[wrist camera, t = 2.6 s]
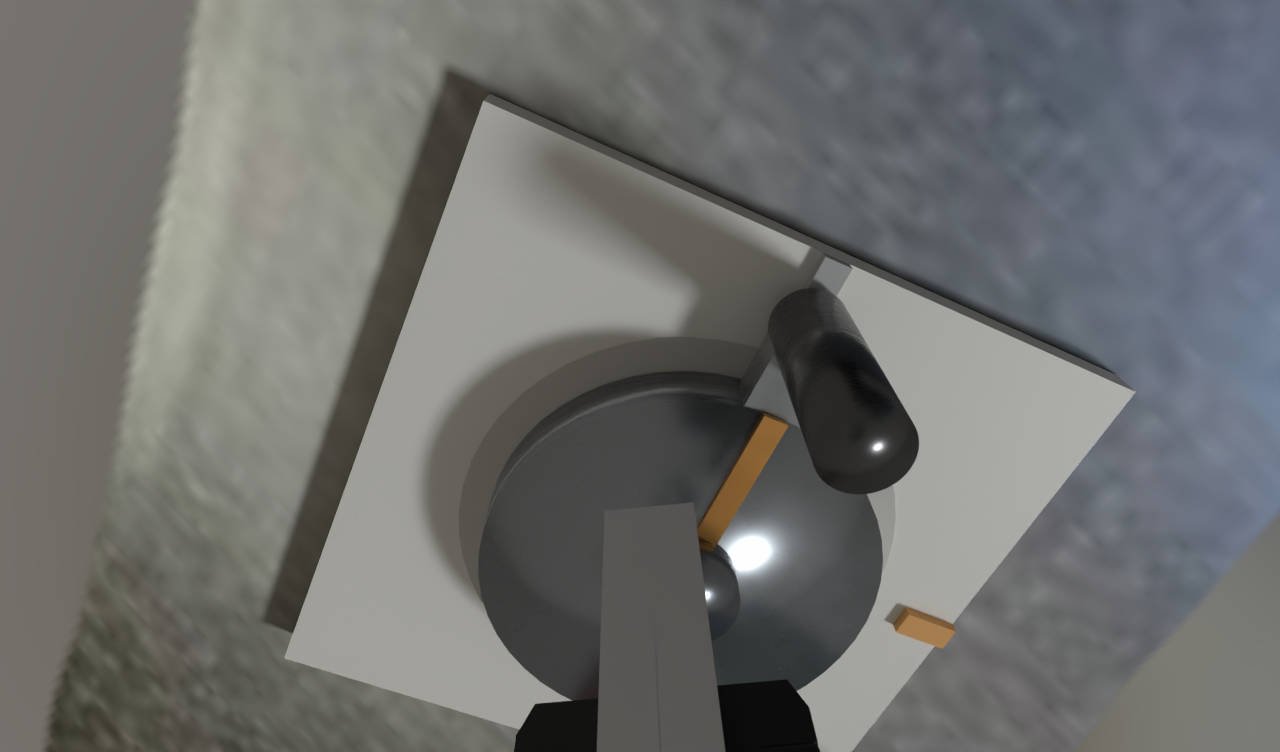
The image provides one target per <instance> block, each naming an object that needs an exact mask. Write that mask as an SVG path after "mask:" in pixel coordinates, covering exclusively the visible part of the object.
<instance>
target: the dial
mask: <svg viewBox="0 0 1280 752" xmlns="http://www.w3.org/2000/svg"><path fill="white" fill-rule="evenodd" d="M918 450H919V437H918V432H917V429H916V427H915V425H914V424H913V422H912V420H911V418H910V417H909V415H908V413H907V411H906V410H905V408H904V406H903V405H902V403H901V401H900V400H899V398H898V396H897V394H896V393H895V391H894V389H893V388H892V386H891V384H890V382H889V381H888V379H887V377H886V376H885V374H884V372H883V370H882V369H881V367H880V365H879V364H878V362H877V360H876V358H875V357H874V355H873V353H872V352H871V350H870V348H869V347H868V345H867V343H866V341H865V340H864V338H863V336H862V335H861V333H860V331H859V329H858V328H857V326H856V324H855V323H854V321H853V319H852V317H851V316H850V314H849V312H848V311H847V309H846V307H845V305H844V304H843V302H842V301H841V300H840V299H839V298H838V297H837V296H835V295H834V294H833V293H831V292H829V291H826V290H823V289H819V288H806V289H801V290H797V291H795V292H792V293H790V294H789V295H787V296H786V297H784V298H783V299H782V300H781V301H780V302H779V303H778V304H777V305H776V306H775V308H774V309H773V311H772V313H771V315H770V318H769V322H768V333H767V335H766V337H765V338H764V340H763V342H762V344H761V345H760V347H759V349H758V351H757V353H756V354H755V356H754V358H753V360H752V362H751V363H750V365H749V367H748V369H747V370H746V372H745V374H744V376H743V378H742V379H741V378H737V377H732V376H727V375H722V374H717V373H707V372H695V371H672V372H657V373H650V374H644V375H637V376H632V377H628V378H625V379H621V380H618V381H614V382H610V383H607V384H605V385H602V386H600V387H597V388H595V389H593V390H590V391H588V392H585V393H583V394H581V395H579V396H578V397H576V398H574V399H572V400H571V401H569V402H567V403H565V404H563V405H562V406H560V407H559V408H557V409H556V410H555V411H553V412H552V413H551V414H549V415H548V416H547V417H545V418H544V419H543V420H542V421H540V422H539V423H538V424H537V425H536V426H535V427H534V428H533V429H532V430H531V431H530V432H529V433H528V434H527V435H526V436H525V437H524V438H523V439H522V441H521V442H520V443H519V445H518V446H517V447H516V449H515V450H514V451H513V453H512V454H511V455H510V457H509V458H508V460H507V462H506V464H505V466H504V468H503V469H502V471H501V473H500V475H499V477H498V480H497V483H496V485H495V488H494V491H493V494H492V497H491V501H490V505H489V509H488V513H487V517H486V521H485V525H484V529H483V533H482V539H481V544H480V549H479V559H478V577H479V584H480V591H481V597H482V600H483V603H484V606H485V609H486V612H487V616H488V618H489V620H490V622H491V624H492V626H493V628H494V630H495V632H496V634H497V636H498V637H499V638H500V640H501V641H502V643H503V644H504V646H505V647H506V648H507V650H508V651H509V653H510V654H511V655H512V656H513V657H514V658H515V659H516V660H517V661H518V662H519V663H520V664H521V665H522V667H523V668H524V669H526V670H527V671H528V672H529V673H530V674H532V675H533V676H534V677H535V678H536V679H538V680H539V681H540V682H541V683H543V684H545V685H546V686H548V687H549V688H551V689H552V690H554V691H555V692H557V693H558V694H560V695H562V696H564V697H566V698H568V699H570V700H584V699H595V698H598V696H599V665H600V634H601V603H602V572H603V541H604V511H607V510H617V509H628V508H638V507H649V506H660V505H670V504H681V503H691V502H694V509H695V517H696V525H697V532H698V540H699V548H700V556H701V564H702V572H703V579H704V587H705V595H706V603H707V611H708V619H709V627H710V634H711V642H712V650H713V658H714V666H715V674H716V682H717V685H728V684H740V683H751V682H762V681H774V680H785V679H787V680H788V681H789V682H790V684H791V685H792V686H793V687H794V689H795V690H796V691H798V690H799V689H801V688H803V687H805V686H806V685H808V684H809V683H810V682H812V681H813V680H814V679H816V678H817V677H819V676H820V675H821V674H823V673H824V672H825V671H826V670H827V669H828V668H829V667H831V666H832V665H833V664H834V663H835V662H836V661H837V660H838V659H839V658H840V657H841V656H842V655H843V654H844V653H845V651H846V650H847V649H848V648H849V647H850V645H851V644H852V643H853V642H854V641H855V639H856V638H857V636H858V634H859V633H860V631H861V630H862V628H863V627H864V625H865V623H866V622H867V620H868V617H869V615H870V613H871V611H872V608H873V606H874V604H875V601H876V598H877V594H878V590H879V587H880V583H881V575H882V567H883V551H882V538H881V534H880V529H879V525H878V520H877V517H876V515H875V513H874V510H873V508H872V505H871V503H870V500H869V498H868V496H867V494H870V493H874V492H878V491H881V490H884V489H886V488H888V487H890V486H892V485H893V484H895V483H897V482H898V481H899V480H900V479H902V478H903V477H904V476H905V475H906V474H907V473H908V471H909V470H910V469H911V467H912V466H913V464H914V462H915V460H916V457H917V454H918Z"/></svg>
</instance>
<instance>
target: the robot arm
mask: <svg viewBox="0 0 1280 752" xmlns="http://www.w3.org/2000/svg"><path fill="white" fill-rule="evenodd" d="M514 752H820V749H819V748H818V741H817V737H816V733H815V729H814V725H813V721H812V716H811V712H810V708H809V706H808V705H807V704H806V703H805V701H804V700H803V699H802V698H801V696H800V695H799V694H798V692H797V691H796V690H795V689H794V687H793V686H792V685H791V684H790V682H789V681H788V680H787V679H785V680H774V681H762V682H751V683H740V684H728V685H717V682H716V674H715V666H714V658H713V650H712V642H711V634H710V627H709V619H708V611H707V603H706V595H705V587H704V579H703V572H702V564H701V556H700V548H699V540H698V532H697V525H696V517H695V509H694V502H691V503H681V504H670V505H660V506H649V507H638V508H628V509H617V510H607V511H604V541H603V572H602V603H601V634H600V665H599V696H598V698H595V699H584V700H572V701H561V702H550V703H538V704H535V705H534V706H533V708H532V710H531V712H530V713H529V715H528V717H527V718H526V720H525V722H524V723H523V725H522V727H521V728H520V730H519V732H518V733H517V735H516V742H515V749H514Z"/></svg>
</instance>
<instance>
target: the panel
mask: <svg viewBox="0 0 1280 752" xmlns="http://www.w3.org/2000/svg"><path fill="white" fill-rule="evenodd" d="M806 288H819V289H823V290H826V291H829V292H831V293H833V294H834V295H835V296H837V297H838V298H839V299H840V300H841V301H842V302H843V304H844V305H845V307H846V309H847V311H848V312H849V314H850V316H851V317H852V319H853V321H854V323H855V324H856V326H857V328H858V329H859V331H860V333H861V335H862V336H863V338H864V340H865V341H866V343H867V345H868V347H869V348H870V350H871V352H872V353H873V355H874V357H875V358H876V360H877V362H878V364H879V365H880V367H881V369H882V370H883V372H884V374H885V376H886V377H887V379H888V381H889V382H890V384H891V386H892V388H893V389H894V391H895V393H896V394H897V396H898V398H899V400H900V401H901V403H902V405H903V406H904V408H905V410H906V411H907V413H908V415H909V417H910V418H911V420H912V422H913V424H914V425H915V427H916V429H917V432H918V437H919V450H918V454H917V457H916V460H915V462H914V464H913V466H912V467H911V469H910V470H909V471H908V473H907V474H906V475H905V476H904V477H903V478H902V479H900V480H899V481H898V482H897V483H895V484H893V485H892V486H890V487H888V488H886V489H884V490H881V491H878V492H874V493H870V494H867V496H868V498H869V500H870V503H871V505H872V508H873V510H874V513H875V515H876V517H877V520H878V525H879V529H880V534H881V538H882V551H883V567H882V575H881V583H880V587H879V590H878V594H877V598H876V601H875V604H874V606H873V608H872V611H871V613H870V615H869V617H868V620H867V622H866V623H865V625H864V627H863V628H862V630H861V631H860V633H859V634H858V636H857V638H856V639H855V641H854V642H853V643H852V644H851V645H850V647H849V648H848V649H847V650H846V651H845V653H844V654H843V655H842V656H841V657H840V658H839V659H838V660H837V661H836V662H835V663H834V664H833V665H832V666H831V667H829V668H828V669H827V670H826V671H825V672H824V673H823V674H821V675H820V676H819V677H817V678H816V679H814V680H813V681H812V682H810V683H809V684H808V685H806V686H805V687H803V688H801V689H799V690H798V691H797V692H798V694H799V695H800V696H801V698H802V699H803V700H804V701H805V703H806V704H807V705H808V706H809V708H810V712H811V716H812V721H813V725H814V729H815V733H816V737H817V741H818V748H819V749H820V752H852V750H853V749H854V748H855V746H856V745H857V744H858V743H859V741H860V740H861V739H862V738H863V736H864V735H865V734H866V733H867V731H868V730H869V729H870V728H871V726H872V725H873V724H874V722H875V721H876V720H877V719H878V717H879V716H880V715H881V714H882V712H883V711H884V710H885V709H886V707H887V706H888V705H889V703H890V702H891V701H892V700H893V698H894V697H895V696H896V695H897V693H898V692H899V691H900V690H901V688H902V687H903V686H904V684H905V683H906V682H907V681H908V679H909V678H910V677H911V676H912V674H913V673H914V672H915V671H916V669H917V668H918V667H919V666H920V664H921V663H922V662H923V660H924V659H925V658H926V657H927V655H928V654H929V653H930V652H931V650H932V649H933V648H934V647H935V646H936V647H939V648H942V649H943V647H944V646H945V645H946V644H947V642H948V641H949V640H950V639H951V637H952V636H953V635H954V634H955V632H956V631H955V629H954V627H953V622H954V621H955V620H956V619H957V617H958V616H959V615H960V614H961V612H962V611H963V610H964V609H965V607H966V606H967V605H968V604H969V602H970V601H971V600H972V598H973V597H974V596H975V595H976V593H977V592H978V591H979V590H980V588H981V587H982V586H983V585H984V583H985V582H986V581H987V579H988V578H989V577H990V576H991V574H992V573H993V572H994V571H995V569H996V568H997V567H998V566H999V564H1000V563H1001V562H1002V560H1003V559H1004V558H1005V557H1006V555H1007V554H1008V553H1009V552H1010V550H1011V549H1012V548H1013V547H1014V545H1015V544H1016V543H1017V542H1018V540H1019V539H1020V538H1021V536H1022V535H1023V534H1024V533H1025V531H1026V530H1027V529H1028V528H1029V526H1030V525H1031V524H1032V523H1033V521H1034V520H1035V519H1036V517H1037V516H1038V515H1039V514H1040V512H1041V511H1042V510H1043V509H1044V507H1045V506H1046V505H1047V504H1048V502H1049V501H1050V500H1051V498H1052V497H1053V496H1054V495H1055V493H1056V492H1057V491H1058V490H1059V488H1060V487H1061V486H1062V485H1063V483H1064V482H1065V481H1066V480H1067V478H1068V477H1069V476H1070V474H1071V473H1072V472H1073V471H1074V469H1075V468H1076V467H1077V466H1078V464H1079V463H1080V462H1081V461H1082V459H1083V458H1084V457H1085V455H1086V454H1087V453H1088V452H1089V450H1090V449H1091V448H1092V447H1093V445H1094V444H1095V443H1096V442H1097V440H1098V439H1099V438H1100V436H1101V435H1102V434H1103V433H1104V431H1105V430H1106V429H1107V428H1108V426H1109V425H1110V424H1111V423H1112V421H1113V420H1114V419H1115V418H1116V416H1117V415H1118V414H1119V412H1120V411H1121V410H1122V409H1123V407H1124V406H1125V405H1126V404H1127V402H1128V401H1129V400H1130V399H1131V397H1132V396H1133V395H1134V393H1135V391H1134V390H1133V389H1132V388H1131V387H1130V386H1128V385H1127V384H1126V383H1125V382H1124V381H1123V380H1122V379H1121V378H1120V377H1118V376H1117V375H1115V374H1113V373H1111V372H1109V371H1107V370H1104V369H1102V368H1100V367H1098V366H1095V365H1093V364H1091V363H1089V362H1086V361H1084V360H1082V359H1080V358H1078V357H1075V356H1073V355H1071V354H1069V353H1066V352H1064V351H1062V350H1060V349H1058V348H1055V347H1053V346H1051V345H1049V344H1046V343H1044V342H1042V341H1040V340H1037V339H1035V338H1033V337H1031V336H1029V335H1026V334H1024V333H1022V332H1020V331H1017V330H1015V329H1013V328H1011V327H1009V326H1006V325H1004V324H1002V323H1000V322H997V321H995V320H993V319H991V318H989V317H986V316H984V315H982V314H980V313H977V312H975V311H973V310H971V309H968V308H966V307H964V306H962V305H960V304H957V303H955V302H953V301H951V300H948V299H946V298H944V297H942V296H940V295H937V294H935V293H933V292H931V291H928V290H926V289H924V288H922V287H919V286H917V285H915V284H913V283H911V282H908V281H906V280H904V279H902V278H899V277H897V276H895V275H893V274H891V273H888V272H886V271H884V270H882V269H879V268H877V267H875V266H873V265H870V264H868V263H866V262H864V261H862V260H859V259H857V258H855V257H853V256H850V255H848V254H846V253H844V252H842V251H839V250H837V249H835V248H833V247H830V246H828V245H826V244H824V243H821V242H819V241H817V240H815V239H813V238H810V237H808V236H806V235H804V234H801V233H799V232H797V231H795V230H793V229H790V228H788V227H786V226H784V225H781V224H779V223H777V222H775V221H773V220H770V219H768V218H766V217H764V216H761V215H759V214H757V213H755V212H752V211H750V210H748V209H746V208H744V207H741V206H739V205H737V204H735V203H732V202H730V201H728V200H726V199H724V198H721V197H719V196H717V195H715V194H712V193H710V192H708V191H706V190H703V189H701V188H699V187H697V186H695V185H692V184H690V183H688V182H686V181H683V180H681V179H679V178H677V177H675V176H672V175H670V174H668V173H666V172H663V171H661V170H659V169H657V168H654V167H652V166H650V165H648V164H646V163H643V162H641V161H639V160H637V159H634V158H632V157H630V156H628V155H626V154H623V153H621V152H619V151H617V150H614V149H612V148H610V147H608V146H605V145H603V144H601V143H599V142H597V141H594V140H592V139H590V138H588V137H585V136H583V135H581V134H579V133H577V132H574V131H572V130H570V129H568V128H565V127H563V126H561V125H559V124H557V123H554V122H552V121H550V120H548V119H545V118H543V117H541V116H539V115H536V114H534V113H532V112H530V111H528V110H525V109H523V108H521V107H519V106H516V105H514V104H512V103H510V102H508V101H505V100H503V99H501V98H499V97H496V96H494V95H492V94H489V95H488V96H487V97H486V98H485V99H484V101H483V103H482V106H481V109H480V112H479V114H478V117H477V120H476V123H475V126H474V128H473V131H472V134H471V137H470V140H469V142H468V145H467V148H466V151H465V154H464V156H463V159H462V162H461V165H460V168H459V170H458V173H457V176H456V179H455V182H454V184H453V187H452V190H451V193H450V196H449V198H448V201H447V204H446V207H445V210H444V212H443V215H442V218H441V221H440V224H439V226H438V229H437V232H436V235H435V238H434V240H433V243H432V246H431V249H430V252H429V254H428V257H427V260H426V263H425V266H424V268H423V271H422V274H421V277H420V280H419V282H418V285H417V288H416V291H415V294H414V296H413V299H412V302H411V305H410V308H409V310H408V313H407V316H406V319H405V322H404V324H403V327H402V330H401V333H400V336H399V338H398V341H397V344H396V347H395V350H394V352H393V355H392V358H391V361H390V364H389V366H388V369H387V372H386V375H385V378H384V380H383V383H382V386H381V389H380V392H379V394H378V397H377V400H376V403H375V406H374V408H373V411H372V414H371V417H370V420H369V422H368V425H367V428H366V431H365V434H364V436H363V439H362V442H361V445H360V448H359V450H358V453H357V456H356V459H355V462H354V464H353V467H352V470H351V473H350V476H349V478H348V481H347V484H346V487H345V490H344V492H343V495H342V498H341V501H340V504H339V506H338V509H337V512H336V515H335V518H334V520H333V523H332V526H331V529H330V532H329V534H328V537H327V540H326V543H325V546H324V548H323V551H322V554H321V557H320V560H319V562H318V565H317V568H316V571H315V574H314V576H313V579H312V582H311V585H310V588H309V590H308V593H307V596H306V599H305V602H304V604H303V607H302V610H301V613H300V616H299V618H298V621H297V624H296V627H295V630H294V632H293V635H292V638H291V641H290V644H289V646H288V649H287V652H286V655H285V659H288V660H292V661H295V662H298V663H302V664H305V665H308V666H311V667H315V668H318V669H321V670H325V671H328V672H331V673H335V674H338V675H341V676H344V677H348V678H351V679H354V680H358V681H361V682H364V683H368V684H371V685H374V686H378V687H381V688H384V689H387V690H391V691H394V692H397V693H401V694H404V695H407V696H411V697H414V698H417V699H420V700H424V701H427V702H430V703H434V704H437V705H440V706H444V707H447V708H450V709H454V710H457V711H460V712H463V713H467V714H470V715H473V716H477V717H480V718H483V719H487V720H490V721H493V722H496V723H500V724H503V725H506V726H510V727H513V728H516V729H520V728H521V727H522V725H523V723H524V722H525V720H526V718H527V717H528V715H529V713H530V712H531V710H532V708H533V706H534V705H535V704H538V703H550V702H561V701H572V700H570V699H568V698H566V697H564V696H562V695H560V694H558V693H557V692H555V691H554V690H552V689H551V688H549V687H548V686H546V685H545V684H543V683H541V682H540V681H539V680H538V679H536V678H535V677H534V676H533V675H532V674H530V673H529V672H528V671H527V670H526V669H524V668H523V667H522V665H521V664H520V663H519V662H518V661H517V660H516V659H515V658H514V657H513V656H512V655H511V654H510V653H509V651H508V650H507V648H506V647H505V646H504V644H503V643H502V641H501V640H500V638H499V637H498V636H497V634H496V632H495V630H494V628H493V626H492V624H491V622H490V620H489V618H488V616H487V612H486V609H485V606H484V603H483V600H482V597H481V591H480V584H479V577H478V559H479V549H480V544H481V539H482V533H483V529H484V525H485V521H486V517H487V513H488V509H489V505H490V501H491V497H492V494H493V491H494V488H495V485H496V483H497V480H498V477H499V475H500V473H501V471H502V469H503V468H504V466H505V464H506V462H507V460H508V458H509V457H510V455H511V454H512V453H513V451H514V450H515V449H516V447H517V446H518V445H519V443H520V442H521V441H522V439H523V438H524V437H525V436H526V435H527V434H528V433H529V432H530V431H531V430H532V429H533V428H534V427H535V426H536V425H537V424H538V423H539V422H540V421H542V420H543V419H544V418H545V417H547V416H548V415H549V414H551V413H552V412H553V411H555V410H556V409H557V408H559V407H560V406H562V405H563V404H565V403H567V402H569V401H571V400H572V399H574V398H576V397H578V396H579V395H581V394H583V393H585V392H588V391H590V390H593V389H595V388H597V387H600V386H602V385H605V384H607V383H610V382H614V381H618V380H621V379H625V378H628V377H632V376H637V375H644V374H650V373H657V372H672V371H695V372H707V373H717V374H722V375H727V376H732V377H737V378H741V379H742V378H743V376H744V374H745V372H746V370H747V369H748V367H749V365H750V363H751V362H752V360H753V358H754V356H755V354H756V353H757V351H758V349H759V347H760V345H761V344H762V342H763V340H764V338H765V337H766V335H767V333H768V322H769V318H770V315H771V313H772V311H773V309H774V308H775V306H776V305H777V304H778V303H779V302H780V301H781V300H782V299H783V298H784V297H786V296H787V295H789V294H790V293H792V292H795V291H797V290H801V289H806Z"/></svg>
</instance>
